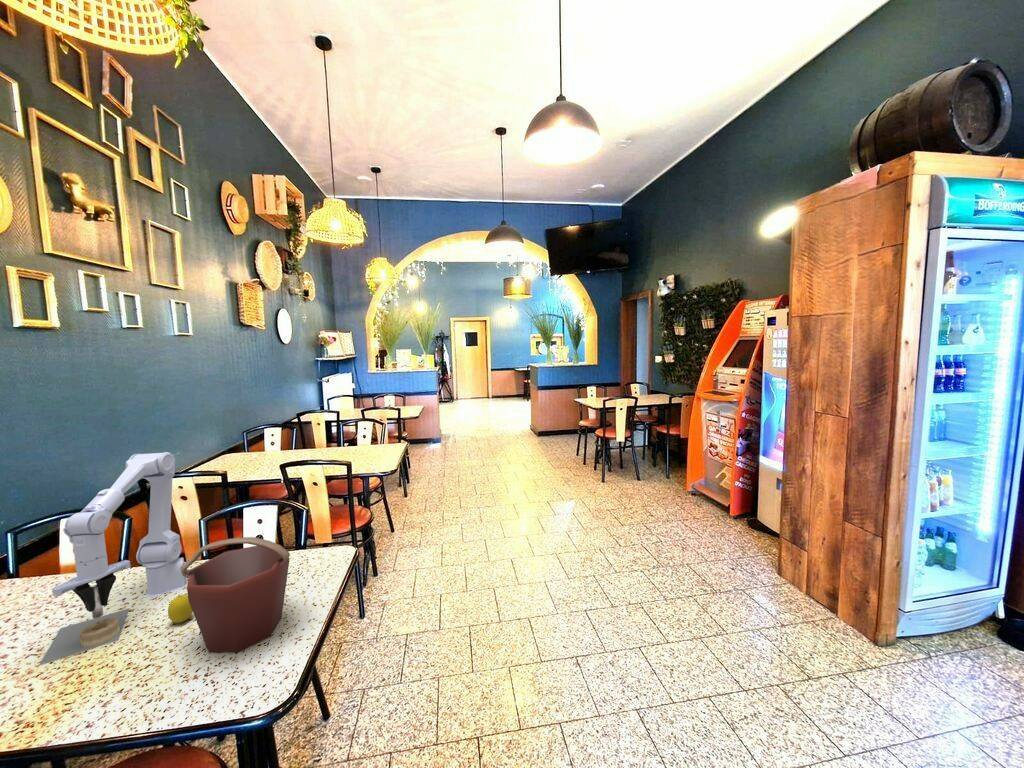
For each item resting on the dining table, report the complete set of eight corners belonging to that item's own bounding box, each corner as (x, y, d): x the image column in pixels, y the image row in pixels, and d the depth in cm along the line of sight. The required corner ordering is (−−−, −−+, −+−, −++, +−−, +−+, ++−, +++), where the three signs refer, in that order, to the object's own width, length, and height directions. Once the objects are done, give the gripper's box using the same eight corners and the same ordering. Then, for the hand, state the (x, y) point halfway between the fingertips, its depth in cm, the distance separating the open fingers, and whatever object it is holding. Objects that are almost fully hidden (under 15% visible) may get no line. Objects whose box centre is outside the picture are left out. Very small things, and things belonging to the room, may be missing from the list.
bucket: (164, 661, 99) (154, 561, 97) (231, 604, 121) (223, 523, 119) (263, 661, 98) (254, 560, 96) (311, 604, 120) (305, 521, 118)
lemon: (199, 619, 115) (196, 591, 115) (176, 631, 110) (173, 603, 110) (187, 614, 118) (185, 587, 117) (165, 626, 112) (162, 598, 112)
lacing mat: (129, 610, 120) (129, 608, 120) (118, 642, 107) (118, 640, 107) (60, 630, 112) (60, 628, 112) (39, 667, 99) (38, 665, 99)
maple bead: (121, 624, 113) (120, 614, 113) (116, 638, 107) (115, 627, 107) (85, 635, 109) (84, 625, 109) (78, 650, 103) (76, 639, 103)
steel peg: (101, 612, 109) (97, 583, 108) (105, 614, 108) (101, 585, 107) (91, 617, 107) (87, 587, 106) (94, 619, 106) (91, 589, 106)
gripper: (118, 542, 114) (123, 589, 116) (43, 568, 101) (50, 621, 102) (132, 546, 112) (137, 594, 113) (57, 573, 98) (64, 627, 99)
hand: (97, 607), depth 107 cm, fingers closed on steel peg, 2 cm apart
